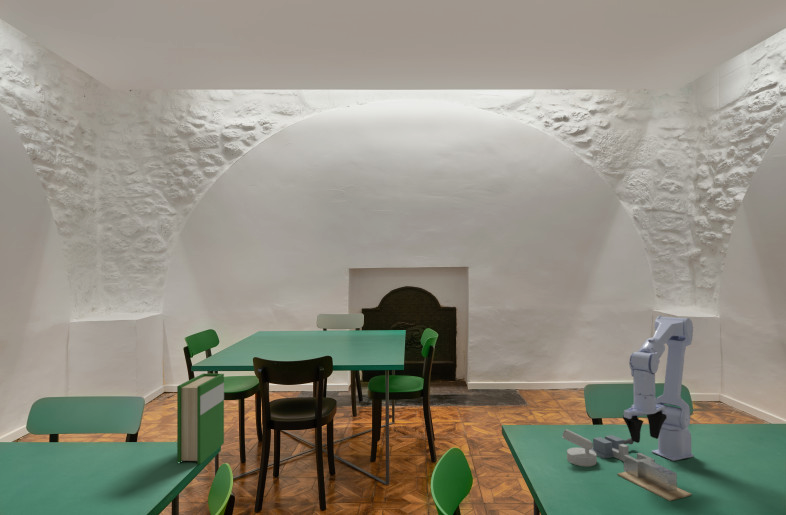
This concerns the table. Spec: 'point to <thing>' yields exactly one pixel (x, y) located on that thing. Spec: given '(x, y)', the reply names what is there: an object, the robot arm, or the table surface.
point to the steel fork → (650, 471)
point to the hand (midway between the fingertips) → (645, 439)
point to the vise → (611, 447)
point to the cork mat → (655, 487)
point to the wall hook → (580, 450)
